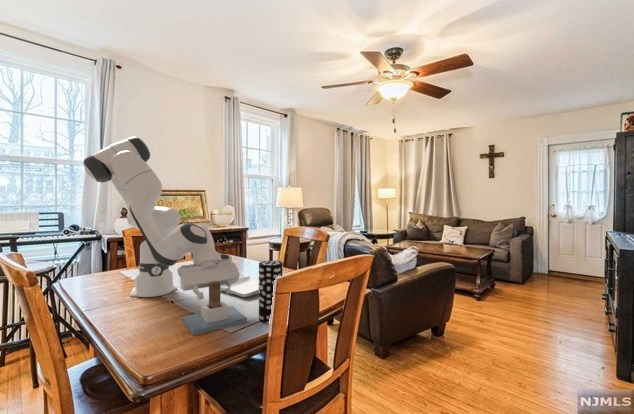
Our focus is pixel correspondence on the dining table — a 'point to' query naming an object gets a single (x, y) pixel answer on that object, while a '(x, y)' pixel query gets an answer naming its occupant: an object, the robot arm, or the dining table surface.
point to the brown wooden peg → (214, 295)
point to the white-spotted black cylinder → (267, 287)
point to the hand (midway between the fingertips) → (215, 296)
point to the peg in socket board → (213, 318)
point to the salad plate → (244, 286)
